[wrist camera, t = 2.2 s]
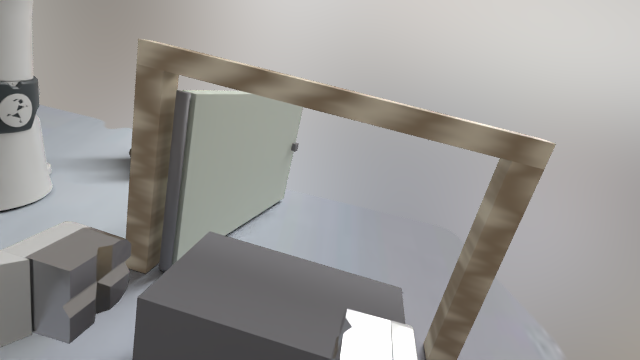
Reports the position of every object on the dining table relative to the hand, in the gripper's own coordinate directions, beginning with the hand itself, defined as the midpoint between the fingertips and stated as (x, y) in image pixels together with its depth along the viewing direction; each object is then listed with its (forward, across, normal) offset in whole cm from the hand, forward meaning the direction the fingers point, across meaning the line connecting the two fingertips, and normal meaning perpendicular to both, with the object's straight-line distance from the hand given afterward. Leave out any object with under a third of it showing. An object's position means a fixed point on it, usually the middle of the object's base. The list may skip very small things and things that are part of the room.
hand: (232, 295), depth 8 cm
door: (+35, -12, -17) cm, 41 cm away
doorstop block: (+13, 0, -18) cm, 22 cm away
